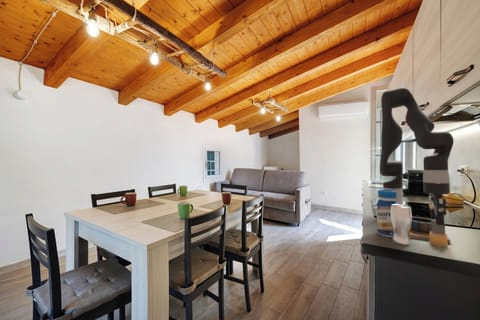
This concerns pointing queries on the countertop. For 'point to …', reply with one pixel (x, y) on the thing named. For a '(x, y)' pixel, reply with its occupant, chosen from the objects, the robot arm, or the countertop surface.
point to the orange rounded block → (438, 235)
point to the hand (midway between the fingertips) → (437, 222)
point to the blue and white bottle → (385, 212)
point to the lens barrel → (421, 225)
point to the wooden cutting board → (423, 236)
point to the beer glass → (401, 223)
